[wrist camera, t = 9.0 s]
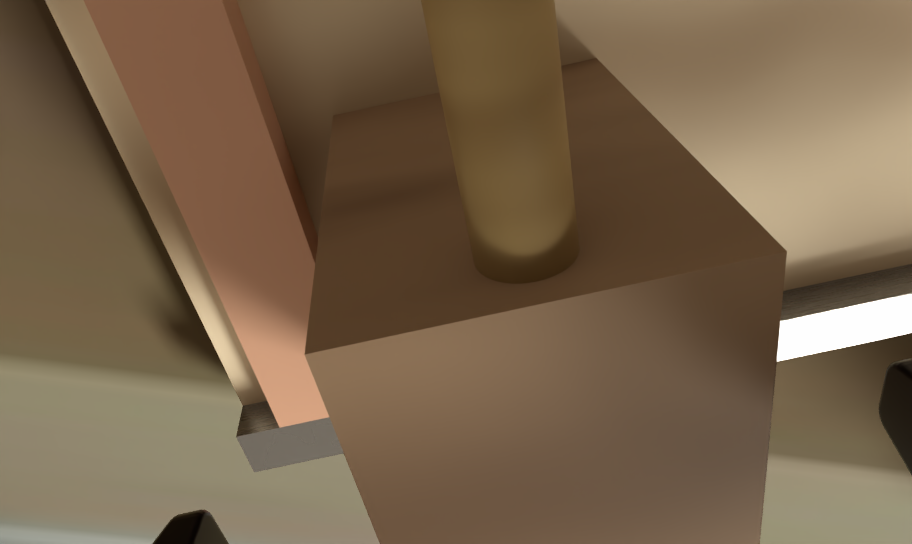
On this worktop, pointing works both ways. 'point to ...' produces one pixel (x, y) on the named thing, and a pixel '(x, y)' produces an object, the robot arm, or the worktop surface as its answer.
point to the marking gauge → (540, 306)
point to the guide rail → (801, 333)
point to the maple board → (640, 70)
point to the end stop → (225, 176)
